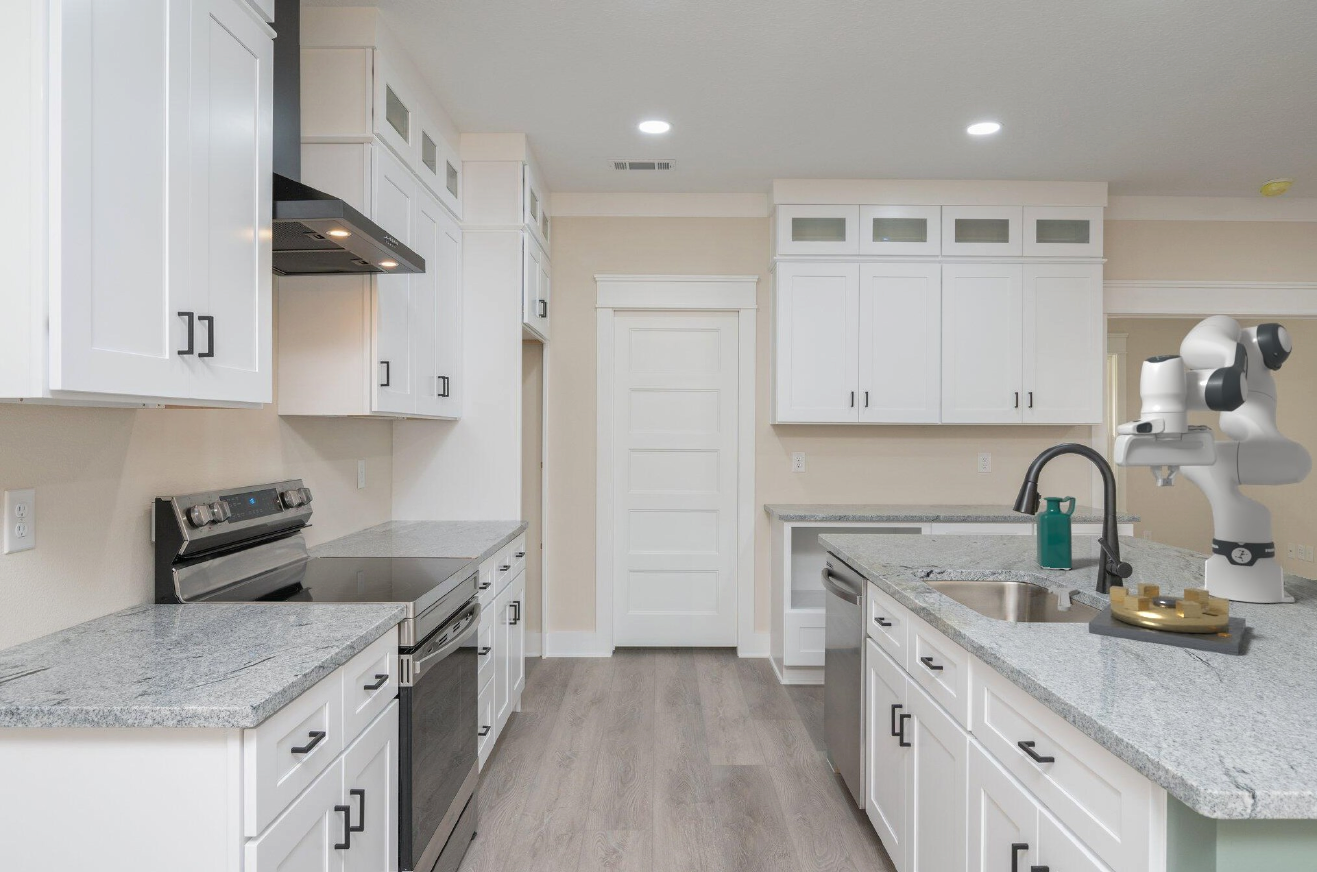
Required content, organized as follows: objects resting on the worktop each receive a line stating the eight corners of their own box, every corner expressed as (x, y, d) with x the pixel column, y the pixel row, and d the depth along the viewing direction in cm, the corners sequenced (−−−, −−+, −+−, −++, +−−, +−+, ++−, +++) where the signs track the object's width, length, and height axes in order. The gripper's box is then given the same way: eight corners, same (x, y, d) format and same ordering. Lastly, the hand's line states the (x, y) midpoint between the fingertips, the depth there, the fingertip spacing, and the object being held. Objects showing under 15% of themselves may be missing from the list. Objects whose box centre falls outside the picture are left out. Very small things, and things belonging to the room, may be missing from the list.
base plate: (1111, 610, 164) (1111, 601, 164) (1245, 628, 148) (1245, 617, 148) (1088, 632, 146) (1088, 622, 146) (1238, 655, 130) (1237, 643, 130)
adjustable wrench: (1071, 614, 164) (1070, 606, 164) (1039, 610, 167) (1039, 603, 167) (1078, 592, 184) (1078, 585, 184) (1050, 590, 188) (1050, 583, 188)
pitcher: (1042, 569, 214) (1041, 497, 214) (1036, 564, 222) (1034, 495, 222) (1078, 571, 211) (1077, 497, 211) (1071, 566, 219) (1069, 495, 219)
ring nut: (1088, 612, 153) (1088, 587, 153) (1156, 604, 159) (1155, 580, 159) (1180, 637, 134) (1180, 608, 134) (1253, 626, 140) (1253, 599, 140)
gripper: (1204, 425, 163) (1205, 484, 163) (1109, 426, 165) (1111, 485, 165) (1222, 424, 156) (1224, 486, 156) (1123, 426, 159) (1125, 487, 159)
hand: (1165, 486), depth 161 cm, fingers closed
